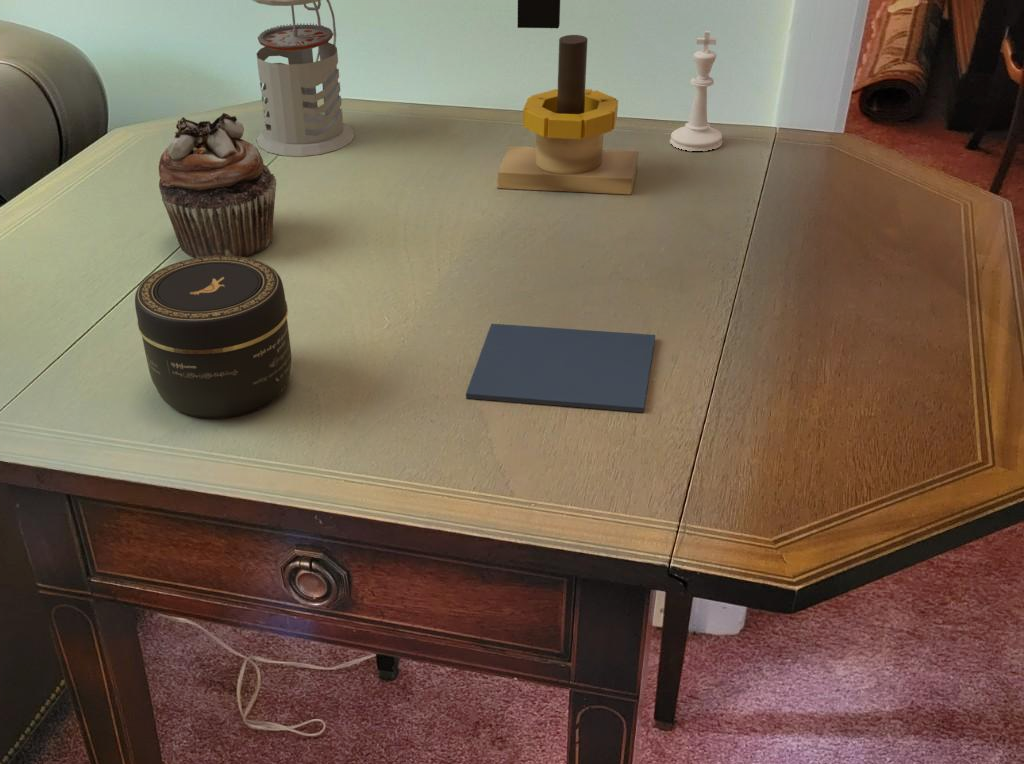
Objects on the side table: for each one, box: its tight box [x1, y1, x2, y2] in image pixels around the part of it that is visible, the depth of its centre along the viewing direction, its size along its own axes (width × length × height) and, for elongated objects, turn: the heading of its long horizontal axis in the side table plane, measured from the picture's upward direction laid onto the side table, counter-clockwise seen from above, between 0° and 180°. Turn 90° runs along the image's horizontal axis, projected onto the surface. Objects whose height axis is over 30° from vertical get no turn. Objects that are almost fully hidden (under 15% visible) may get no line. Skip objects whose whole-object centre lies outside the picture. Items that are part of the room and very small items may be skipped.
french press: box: [252, 0, 356, 157], centre depth 114 cm, size 10×12×25 cm
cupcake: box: [158, 112, 277, 258], centre depth 100 cm, size 10×10×10 cm
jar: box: [134, 256, 292, 419], centre depth 83 cm, size 10×10×8 cm
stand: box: [496, 34, 639, 195], centre depth 107 cm, size 12×6×12 cm, turn 78°
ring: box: [522, 88, 619, 139], centre depth 107 cm, size 8×8×2 cm
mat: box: [465, 323, 656, 413], centre depth 85 cm, size 12×10×1 cm
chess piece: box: [669, 30, 723, 152], centre depth 113 cm, size 5×5×10 cm
